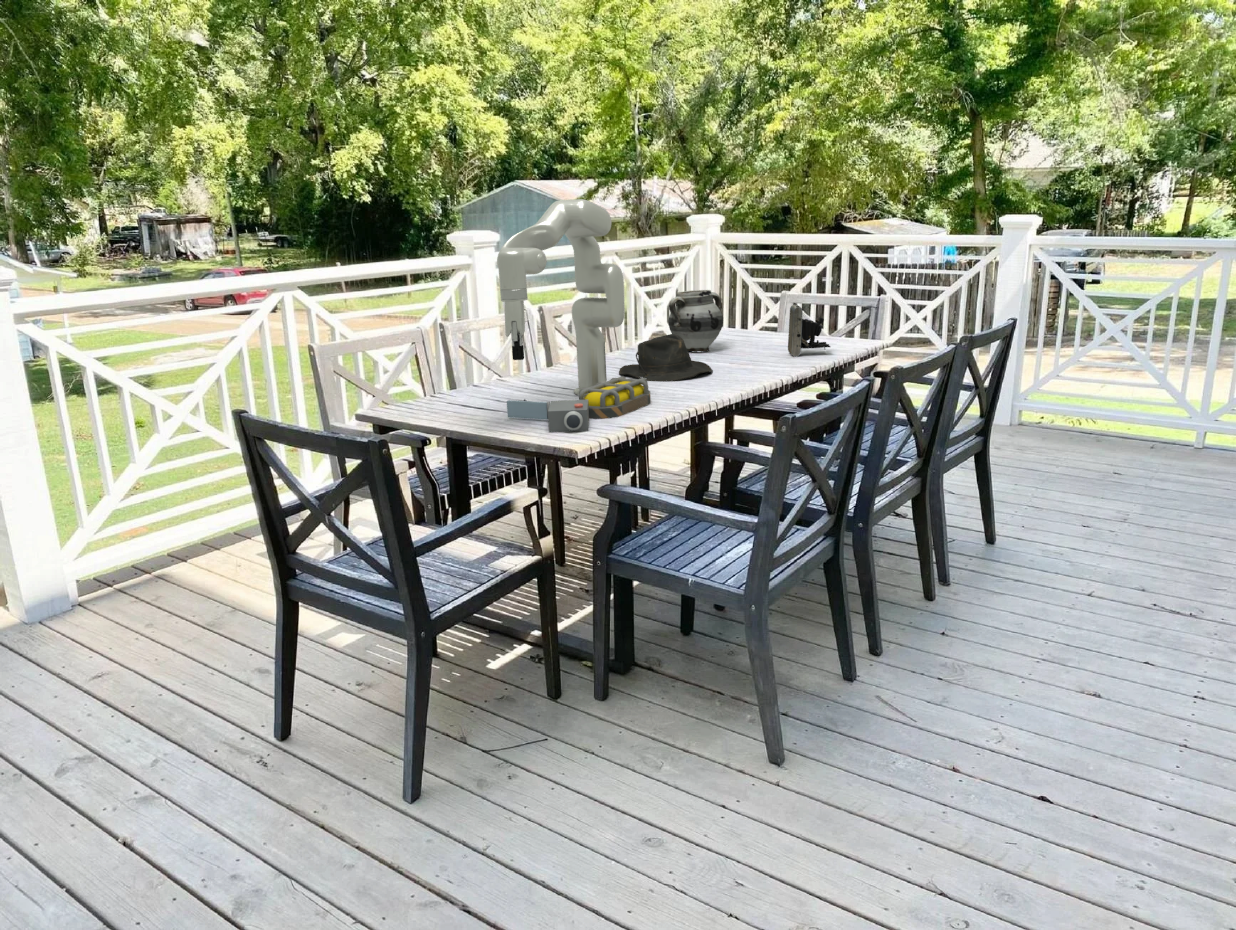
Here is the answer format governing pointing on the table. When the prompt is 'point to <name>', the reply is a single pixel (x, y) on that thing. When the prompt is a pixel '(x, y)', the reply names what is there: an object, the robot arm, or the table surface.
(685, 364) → the hat
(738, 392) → the table surface
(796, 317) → the vintage camera
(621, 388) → the cage light
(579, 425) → the camera housing
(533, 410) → the side door
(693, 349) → the ceramic pot
